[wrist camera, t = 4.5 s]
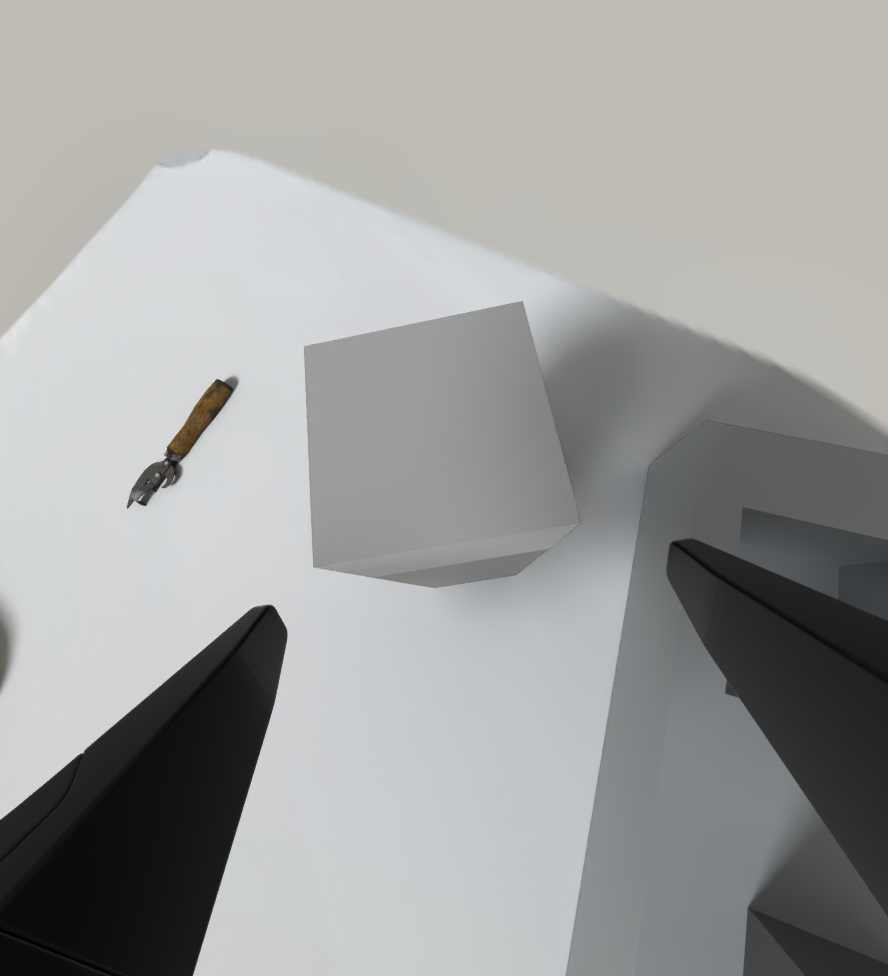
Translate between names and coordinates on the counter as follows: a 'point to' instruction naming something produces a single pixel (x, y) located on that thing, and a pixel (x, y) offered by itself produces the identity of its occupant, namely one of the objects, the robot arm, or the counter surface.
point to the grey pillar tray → (727, 733)
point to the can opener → (182, 440)
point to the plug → (434, 451)
